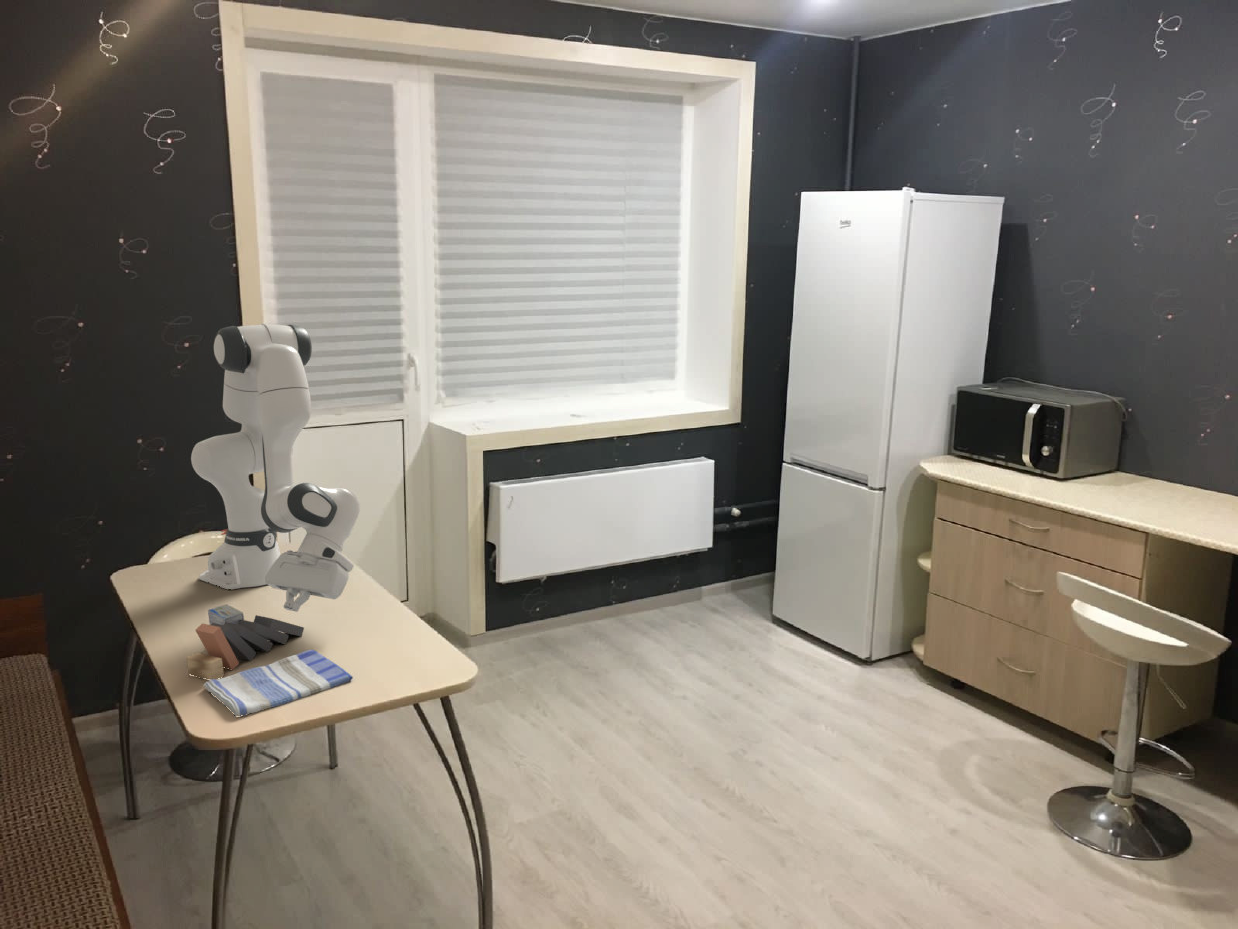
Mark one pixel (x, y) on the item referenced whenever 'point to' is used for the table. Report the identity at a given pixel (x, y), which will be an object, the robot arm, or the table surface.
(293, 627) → the domino
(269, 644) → the domino
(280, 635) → the domino
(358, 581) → the table surface
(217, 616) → the medicine box
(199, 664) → the end block
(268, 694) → the dish towel
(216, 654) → the domino
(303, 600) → the robot arm
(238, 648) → the domino
